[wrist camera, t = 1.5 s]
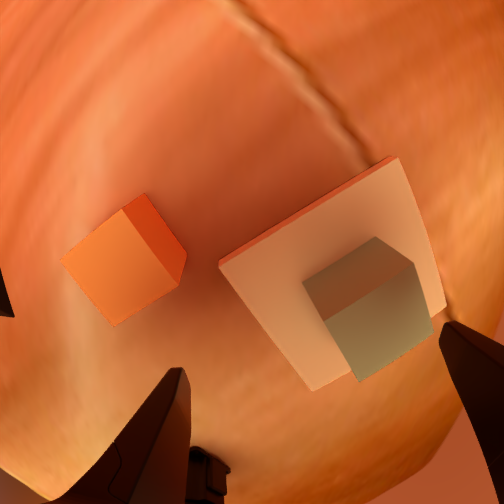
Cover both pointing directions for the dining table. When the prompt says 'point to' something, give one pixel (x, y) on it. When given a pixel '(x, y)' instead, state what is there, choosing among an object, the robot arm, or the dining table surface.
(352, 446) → the dining table surface
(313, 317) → the base plate
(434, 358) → the dining table surface
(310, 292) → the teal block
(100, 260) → the orange block
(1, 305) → the dark piece
